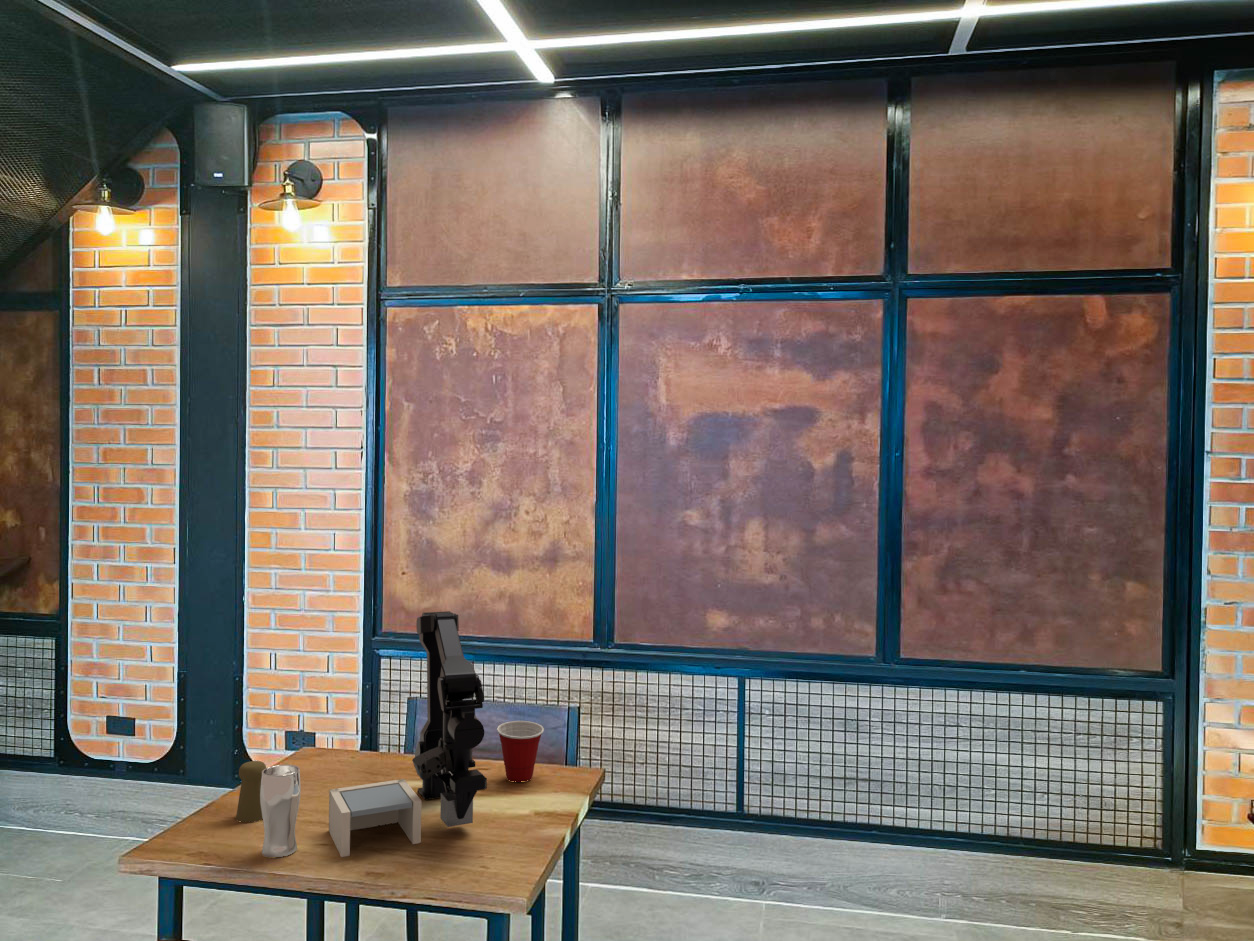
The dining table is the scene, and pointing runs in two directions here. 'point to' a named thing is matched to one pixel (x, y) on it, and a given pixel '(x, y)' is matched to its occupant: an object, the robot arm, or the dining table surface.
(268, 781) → the beer glass
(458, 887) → the dining table surface
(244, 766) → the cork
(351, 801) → the trapdoor
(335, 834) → the white step stool
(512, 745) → the plastic cup
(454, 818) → the block
